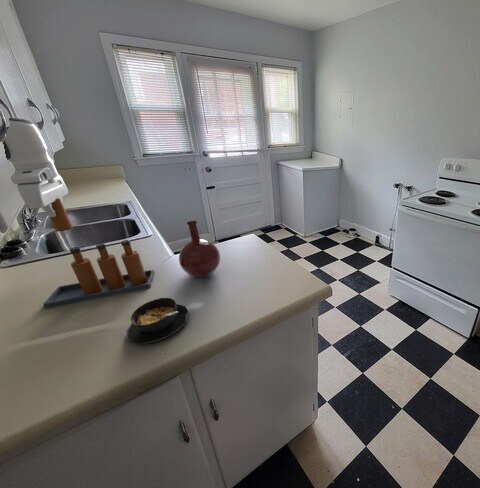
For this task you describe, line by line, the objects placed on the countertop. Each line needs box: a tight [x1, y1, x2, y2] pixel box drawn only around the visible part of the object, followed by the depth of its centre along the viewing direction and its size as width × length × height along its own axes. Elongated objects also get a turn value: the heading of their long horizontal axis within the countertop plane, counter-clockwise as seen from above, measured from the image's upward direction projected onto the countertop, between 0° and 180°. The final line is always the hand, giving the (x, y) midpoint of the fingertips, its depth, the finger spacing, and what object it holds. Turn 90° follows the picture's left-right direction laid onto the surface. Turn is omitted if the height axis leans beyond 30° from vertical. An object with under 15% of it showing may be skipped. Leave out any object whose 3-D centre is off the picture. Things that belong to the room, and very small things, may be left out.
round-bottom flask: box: [178, 220, 221, 278], centre depth 94 cm, size 13×13×20 cm
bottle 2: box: [95, 242, 125, 290], centre depth 87 cm, size 5×5×16 cm
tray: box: [42, 269, 156, 309], centre depth 89 cm, size 27×10×2 cm, turn 113°
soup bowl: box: [126, 297, 190, 345], centre depth 71 cm, size 15×16×7 cm
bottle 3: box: [120, 239, 148, 286], centre depth 89 cm, size 5×5×16 cm
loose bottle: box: [48, 197, 74, 232], centre depth 92 cm, size 5×5×16 cm
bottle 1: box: [69, 246, 102, 295], centre depth 84 cm, size 5×5×16 cm
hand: (57, 213), depth 92 cm, fingers closed on loose bottle, 4 cm apart
